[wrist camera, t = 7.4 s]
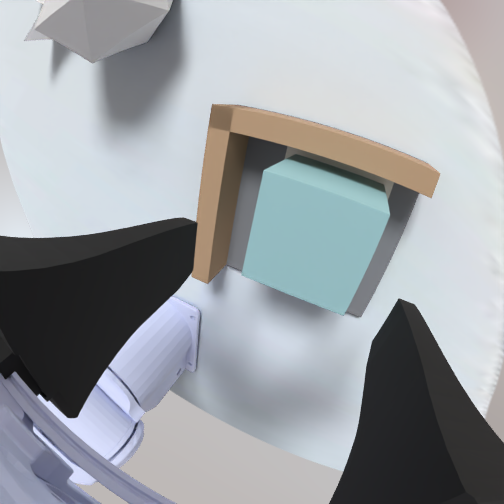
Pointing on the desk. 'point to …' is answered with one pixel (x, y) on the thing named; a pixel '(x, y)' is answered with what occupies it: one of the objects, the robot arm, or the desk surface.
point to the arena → (274, 151)
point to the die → (100, 24)
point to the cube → (315, 231)
